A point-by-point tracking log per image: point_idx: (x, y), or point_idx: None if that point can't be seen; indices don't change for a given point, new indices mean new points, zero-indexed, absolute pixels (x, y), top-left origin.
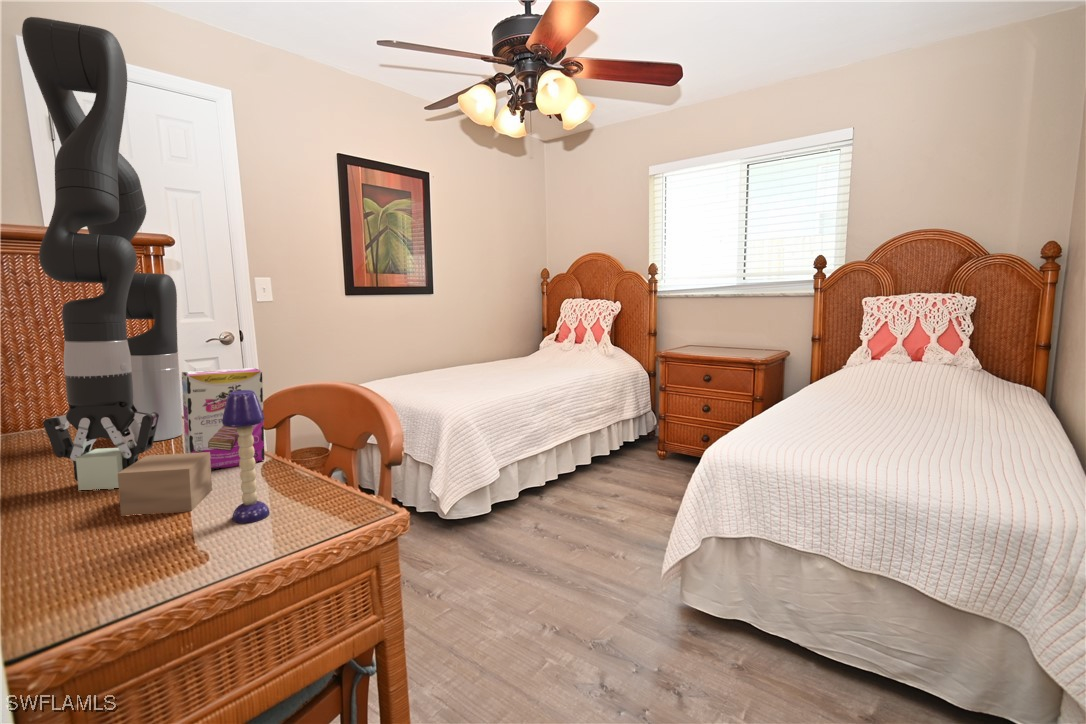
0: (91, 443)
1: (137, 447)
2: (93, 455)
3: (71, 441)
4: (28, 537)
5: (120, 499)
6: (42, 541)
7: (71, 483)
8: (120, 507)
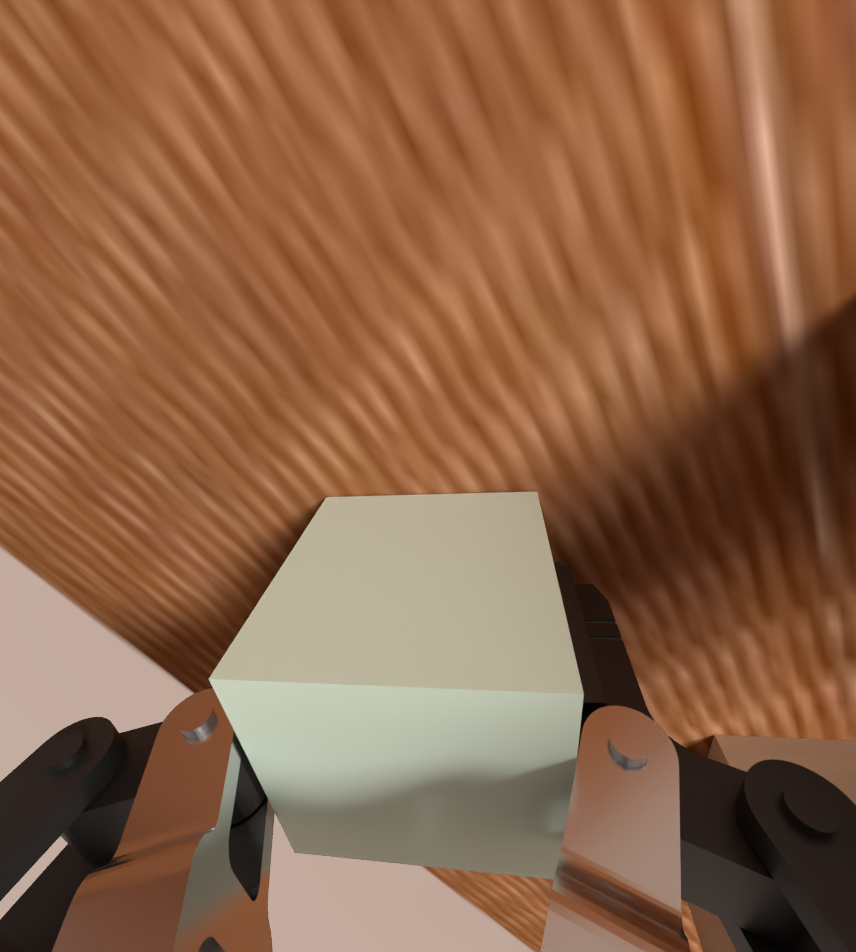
0: (228, 864)
1: (741, 932)
2: (369, 833)
3: (14, 867)
4: (488, 890)
5: (705, 947)
6: (538, 910)
7: (221, 524)
8: (689, 904)
